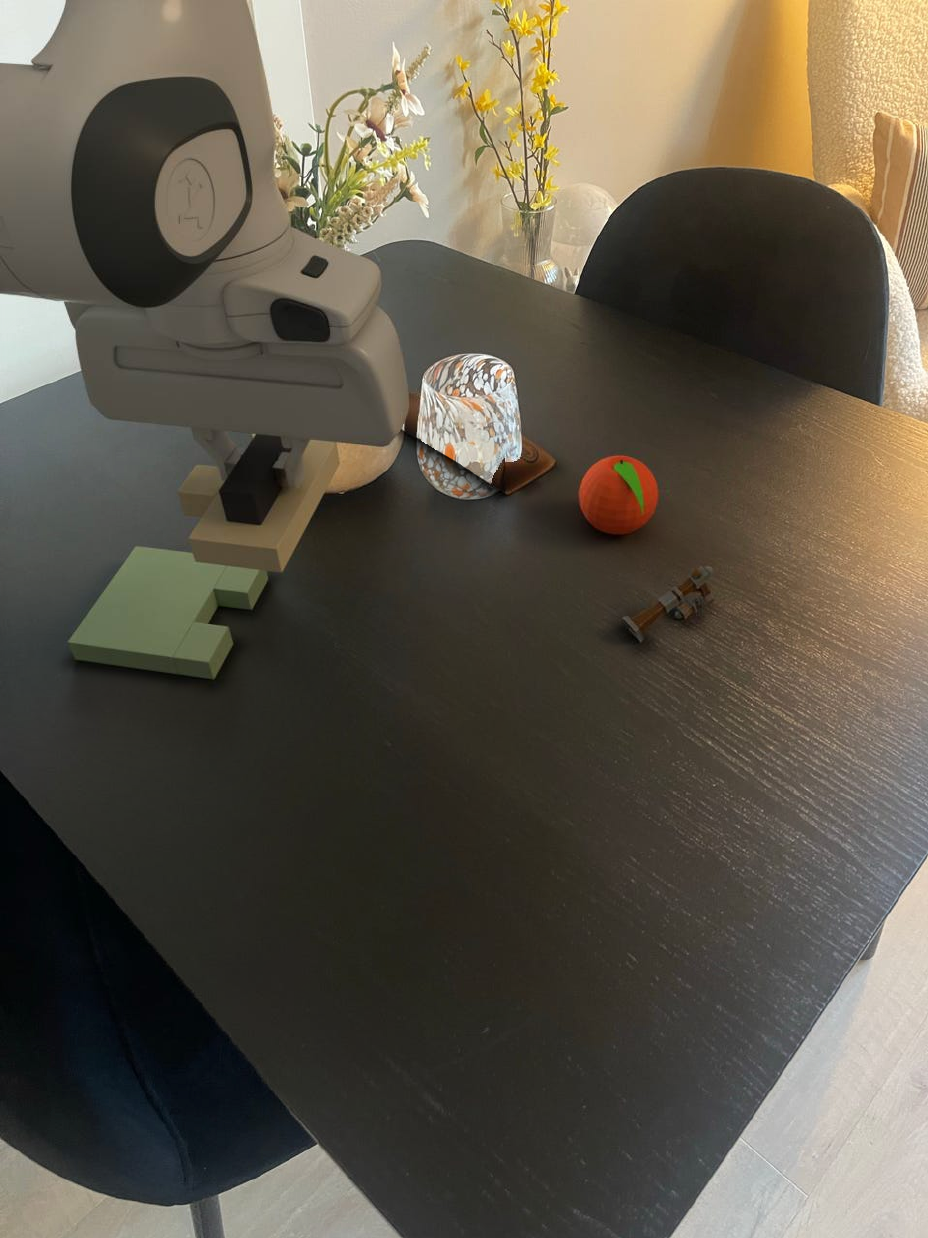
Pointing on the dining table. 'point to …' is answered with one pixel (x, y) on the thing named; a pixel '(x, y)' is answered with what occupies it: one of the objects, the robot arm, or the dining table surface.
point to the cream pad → (251, 537)
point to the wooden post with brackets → (674, 602)
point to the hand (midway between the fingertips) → (264, 479)
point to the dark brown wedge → (508, 473)
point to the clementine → (618, 495)
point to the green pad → (166, 614)
